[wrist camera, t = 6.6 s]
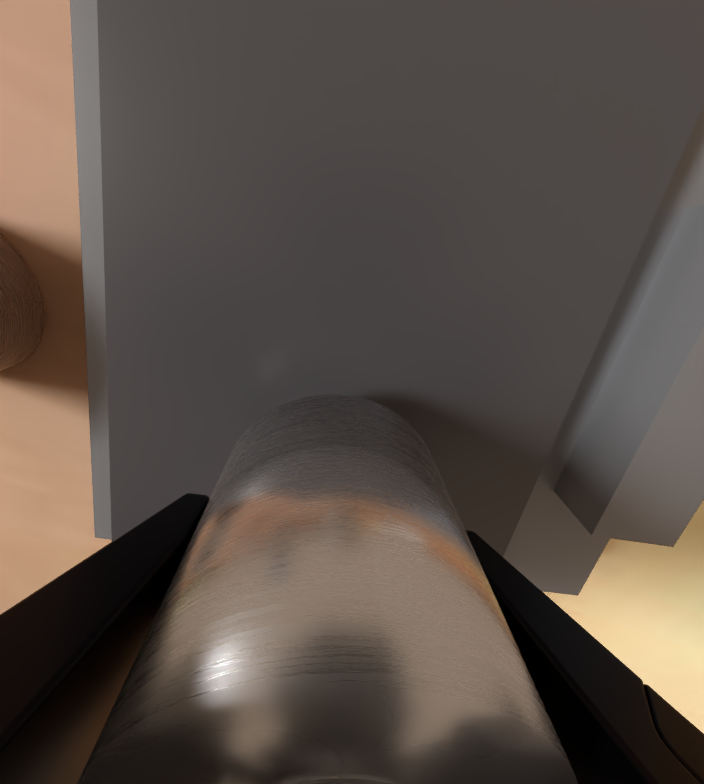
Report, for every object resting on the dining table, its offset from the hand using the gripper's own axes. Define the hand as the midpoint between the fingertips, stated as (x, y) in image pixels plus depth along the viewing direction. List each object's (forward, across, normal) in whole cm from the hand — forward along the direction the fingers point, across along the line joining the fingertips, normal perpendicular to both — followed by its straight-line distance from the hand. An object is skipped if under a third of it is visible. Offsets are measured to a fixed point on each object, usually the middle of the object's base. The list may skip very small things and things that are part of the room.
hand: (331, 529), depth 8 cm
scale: (+6, -2, -4) cm, 7 cm away
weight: (+1, 0, 0) cm, 1 cm away
